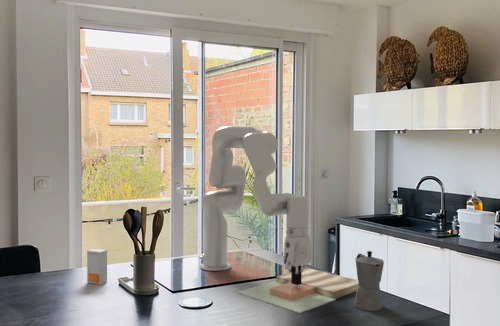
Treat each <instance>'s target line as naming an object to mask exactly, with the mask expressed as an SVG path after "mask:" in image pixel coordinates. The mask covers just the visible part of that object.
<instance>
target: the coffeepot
mask: <svg viewBox="0 0 500 326" xmlns="http://www.w3.org/2000/svg"><path fill="white" fill-rule="evenodd" d="M366 254H367V256H366V255H365V254H363V253H357V256H356V257H355V268H356V276H357V280H358V287H357V291H356V294H355V298H354V307H355V308H356V309H358V310H361V311H367V312H375V311H381V310H382V309H383V301H382V295H381V288H380V285H381V284H380V283H381V281H382V276H383V270H384V264H385V263H384V259H381V258H378V257H373V256H372V255H373V251H371V250H368V251H366Z"/></svg>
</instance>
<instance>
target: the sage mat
mask: <svg viewBox="0 0 500 326" xmlns="http://www.w3.org/2000/svg"><path fill="white" fill-rule="evenodd" d="M279 285H283V284H282V283H278V282H276V280H275V281H271V282H268V283H267V282H266V283H263V284H259V285H256V286H252V287H250V288H245V289H243V290H238V291H236V293H237V294H239V295H243V296H245V297H248V298H251V299H254V300H256V301H261V302H264V303H267V304H270V305H272V306H275V307H279V308H281V309H285V310H287V311H291V312H294V313H298V314H301V313H304V312H307V311H310V310H313V309H315V308H318V307H321V306H323V305H326V304H329V303H332V302H335V301H337V298H336V299H335V298H331V297H328V296H324V295H321V294H317V293H314V294H311V295H308V296H305V297H302V298H299V299H296V300H294V301H291V300H288V299H284V298H281V297H278V296H274V295H271V294H270V288H273V287H276V286H279Z"/></svg>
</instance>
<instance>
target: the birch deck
mask: <svg viewBox="0 0 500 326" xmlns="http://www.w3.org/2000/svg"><path fill="white" fill-rule="evenodd" d="M291 274H292V273H291V272H290V271H289V272H286V273H283V274H280V275H276V280H275V282H278V283H282V284H286V283H289V282H291ZM301 284H304V285H307V286H311V287H315V293H317V294H321V295H324V296H328V297H331V298H335V299H336V300H337V299H339V298H341V297H344V296H346V295H349V294H352V293H355V292H357V287H358V279H354V278H350V277H345V276H341V275H338V274H334V273H329V272H326V271H322V270H317V269H312V268H310V267H304V268H303V272H302V275H301Z"/></svg>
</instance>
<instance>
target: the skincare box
mask: <svg viewBox="0 0 500 326" xmlns="http://www.w3.org/2000/svg"><path fill="white" fill-rule="evenodd" d="M86 259H87V260H86V261H87V262H86V266H87V267H86V273H87V274H86V277H87V278H86V283H88V284H89V283H90V284H95V285H98V286H99V285H103V284H105V283H107V282H108V250H107V249H102V248H92V249H91V248H90V249H88V250H86Z"/></svg>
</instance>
